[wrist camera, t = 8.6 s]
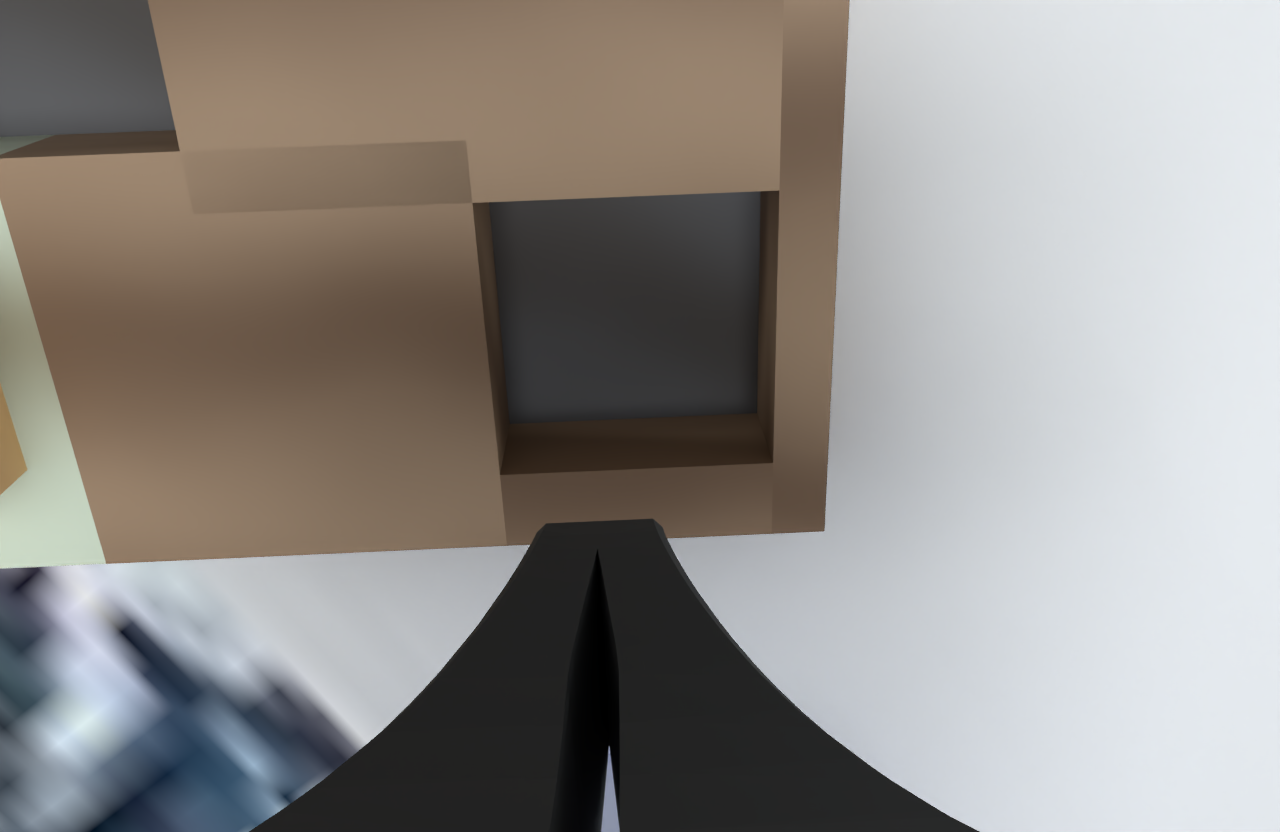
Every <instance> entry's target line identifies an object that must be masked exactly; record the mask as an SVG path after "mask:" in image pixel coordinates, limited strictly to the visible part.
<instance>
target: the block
mask: <svg viewBox="0 0 1280 832" xmlns="http://www.w3.org/2000/svg"><path fill="white" fill-rule="evenodd" d="M26 471H27V467H26V463H25V460H24V457H23V454H22V451H21V447H20V444H19V441H18V438H17V435H16V432H15V428H14V425H13V422H12V419H11V416H10V412H9V409H8V406H7V403H6V400H5V396H4V393H3V390H2V387H1V384H0V495H1V494H2V493H3V492H4V491H5V490H6V489H7V488H8V487H10V486H11V485H12V484H13V483H14V482H15V481H16V480H17V479H18V478H19V477H20V476H21V475H22V474H24V473H25V472H26Z"/></svg>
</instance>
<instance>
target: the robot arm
mask: <svg viewBox="0 0 1280 832" xmlns="http://www.w3.org/2000/svg"><path fill="white" fill-rule="evenodd" d="M249 832H979V831H977V830H975V829H973V828H971V827H969V826H967V825H965V824H963V823H961V822H960V821H958V820H956V819H954V818H952V817H950V816H948V815H946V814H945V813H943V812H941V811H939V810H938V809H936V808H935V807H933V806H931V805H930V804H928V803H926V802H925V801H923V800H922V799H920V798H918V797H917V796H915V795H914V794H912V793H910V792H909V791H907V790H906V789H904V788H902V787H901V786H899V785H898V784H896V783H894V782H893V781H891V780H890V779H888V778H887V777H885V776H884V775H882V774H881V773H879V772H878V771H877V770H875V769H874V768H872V767H871V766H870V765H868V764H867V763H866V762H864V761H863V760H862V759H860V758H859V757H858V756H856V755H855V754H854V753H852V752H851V751H850V750H848V749H847V748H846V747H844V746H843V745H842V744H840V743H839V742H838V741H836V740H835V739H834V738H832V737H831V736H830V735H828V734H827V733H826V732H825V731H824V730H822V729H821V728H820V727H819V726H818V725H817V724H815V723H814V722H813V721H812V720H811V719H810V718H809V717H807V716H806V715H805V714H804V713H803V712H802V711H801V710H800V709H799V708H798V707H796V706H795V705H794V704H793V703H792V702H791V701H790V700H789V699H788V698H787V697H786V696H785V695H784V694H783V693H782V692H781V691H780V690H779V689H778V688H777V687H776V686H775V685H774V684H773V683H772V682H771V681H770V680H769V679H768V678H767V677H766V676H765V675H764V674H763V673H762V672H761V671H760V669H759V668H758V667H757V666H756V665H755V664H754V663H753V662H752V661H751V659H750V658H749V657H748V656H747V655H746V654H745V652H744V651H743V650H742V649H741V648H740V647H739V645H738V644H737V643H736V642H735V641H734V640H733V638H732V637H731V636H730V635H729V633H728V632H727V631H726V630H725V628H724V627H723V626H722V624H721V623H720V622H719V621H718V619H717V618H716V616H715V615H714V614H713V612H712V611H711V610H710V608H709V607H708V605H707V604H706V603H705V601H704V600H703V598H702V597H701V596H700V594H699V593H698V591H697V590H696V588H695V587H694V585H693V584H692V582H691V581H690V579H689V578H688V576H687V574H686V573H685V571H684V569H683V568H682V566H681V564H680V563H679V561H678V559H677V558H676V556H675V554H674V552H673V550H672V548H671V546H670V544H669V542H668V540H667V537H666V535H665V533H664V529H663V527H662V526H661V525H660V524H659V523H657V522H656V521H655V520H654V519H632V520H610V521H588V522H565V523H546V524H545V525H544V526H543V527H542V528H541V529H540V530H539V531H538V532H537V533H536V535H535V537H534V539H533V541H532V543H531V545H530V547H529V548H528V550H527V552H526V554H525V555H524V557H523V559H522V561H521V562H520V564H519V565H518V567H517V569H516V570H515V572H514V573H513V575H512V577H511V578H510V580H509V581H508V583H507V584H506V586H505V587H504V589H503V590H502V592H501V593H500V595H499V596H498V597H497V599H496V600H495V602H494V603H493V604H492V606H491V607H490V609H489V610H488V612H487V613H486V614H485V616H484V617H483V619H482V620H481V621H480V623H479V624H478V625H477V627H476V628H475V629H474V631H473V632H472V633H471V634H470V636H469V637H468V638H467V639H466V641H465V642H464V643H463V644H462V645H461V647H460V648H459V649H458V650H457V652H456V653H455V654H454V655H453V656H452V658H451V659H450V660H449V661H448V662H447V664H446V665H445V666H444V667H443V669H442V670H441V671H440V672H439V673H438V674H437V676H436V677H435V678H434V679H433V680H432V681H431V682H430V683H429V684H428V685H427V686H426V688H425V689H424V690H423V691H422V692H421V693H420V694H419V695H418V696H417V697H416V698H415V699H414V700H413V701H412V702H411V703H410V704H409V705H408V706H407V707H406V708H405V709H404V710H403V711H402V712H401V713H400V714H399V715H398V716H397V717H396V718H395V719H394V720H393V721H392V722H391V723H390V724H389V725H388V726H387V727H386V728H385V729H384V730H383V731H382V732H381V733H379V734H378V735H377V736H376V737H375V738H374V739H373V740H371V741H370V742H369V743H368V744H367V745H365V746H364V747H363V748H362V749H360V750H359V751H358V752H357V753H356V754H354V755H353V756H352V757H351V758H349V759H348V760H347V761H346V762H345V763H343V764H342V765H341V766H340V767H339V768H337V769H336V770H335V771H334V772H332V773H331V774H330V775H329V776H328V777H326V778H325V779H324V780H323V781H321V782H320V783H319V784H317V785H316V786H315V787H313V788H312V789H311V790H309V791H308V792H306V793H305V794H304V795H302V796H301V797H299V798H298V799H297V800H295V801H294V802H292V803H291V804H290V805H288V806H287V807H285V808H284V809H283V810H281V811H280V812H278V813H277V814H275V815H274V816H272V817H271V818H269V819H268V820H266V821H265V822H263V823H262V824H260V825H259V826H257V827H255V828H254V829H252V830H251V831H249Z"/></svg>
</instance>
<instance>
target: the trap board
mask: <svg viewBox="0 0 1280 832" xmlns="http://www.w3.org/2000/svg"><path fill="white" fill-rule="evenodd" d="M848 19H849V0H0V384H1V387H2V390H3V393H4V396H5V400H6V403H7V406H8V409H9V412H10V416H11V419H12V422H13V425H14V428H15V432H16V435H17V438H18V441H19V444H20V447H21V451H22V454H23V457H24V460H25V463H26V467H27V471H26V472H25V473H24V474H22V475H21V476H20V477H19V478H18V479H17V480H16V481H15V482H14V483H13V484H12V485H11V486H10V487H8V488H7V489H6V490H5V491H4V492H3V493H2V494H1V495H0V568H22V567H44V566H66V565H89V564H111V563H133V562H155V561H177V560H199V559H221V558H243V557H265V556H287V555H310V554H332V553H354V552H376V551H398V550H420V549H442V548H464V547H486V546H509V545H531V543H532V541H533V539H534V537H535V535H536V533H537V532H538V531H539V530H540V529H541V528H542V527H543V526H544V525H545V524H546V523H565V522H588V521H610V520H632V519H654V520H655V521H656V522H657V523H659V524H660V525H661V526H662V527H663V529H664V533H665V535H666V537H667V538H685V537H707V536H730V535H752V534H774V533H796V532H818V531H824V528H825V507H826V485H827V464H828V443H829V422H830V401H831V379H832V358H833V337H834V316H835V295H836V273H837V252H838V231H839V210H840V189H841V167H842V146H843V125H844V104H845V83H846V62H847V40H848Z"/></svg>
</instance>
